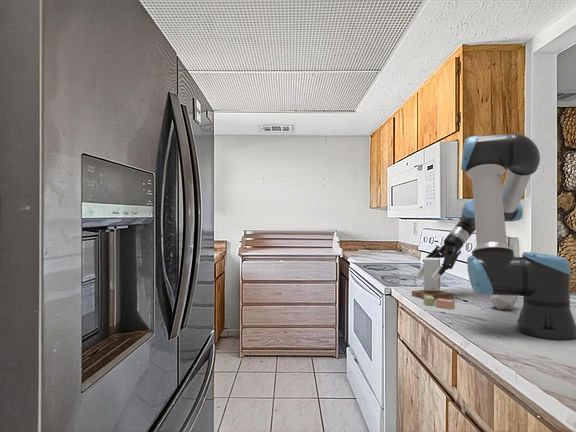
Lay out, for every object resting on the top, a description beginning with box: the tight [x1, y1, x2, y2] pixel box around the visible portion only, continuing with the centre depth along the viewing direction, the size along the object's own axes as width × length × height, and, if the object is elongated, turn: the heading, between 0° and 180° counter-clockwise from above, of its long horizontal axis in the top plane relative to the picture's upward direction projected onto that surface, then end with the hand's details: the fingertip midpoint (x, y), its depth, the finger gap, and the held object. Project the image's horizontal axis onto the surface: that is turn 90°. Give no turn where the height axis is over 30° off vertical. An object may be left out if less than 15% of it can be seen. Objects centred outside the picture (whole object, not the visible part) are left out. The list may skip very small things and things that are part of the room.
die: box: [488, 295, 519, 311], centre depth 150 cm, size 8×9×10 cm
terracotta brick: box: [435, 298, 456, 310], centre depth 153 cm, size 6×3×3 cm, turn 44°
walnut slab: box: [411, 289, 454, 301], centre depth 172 cm, size 12×12×2 cm
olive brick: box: [423, 295, 436, 307], centre depth 159 cm, size 6×3×3 cm, turn 173°
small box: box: [423, 257, 441, 291], centre depth 172 cm, size 8×6×13 cm
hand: (425, 277), depth 172 cm, fingers closed on small box, 10 cm apart
